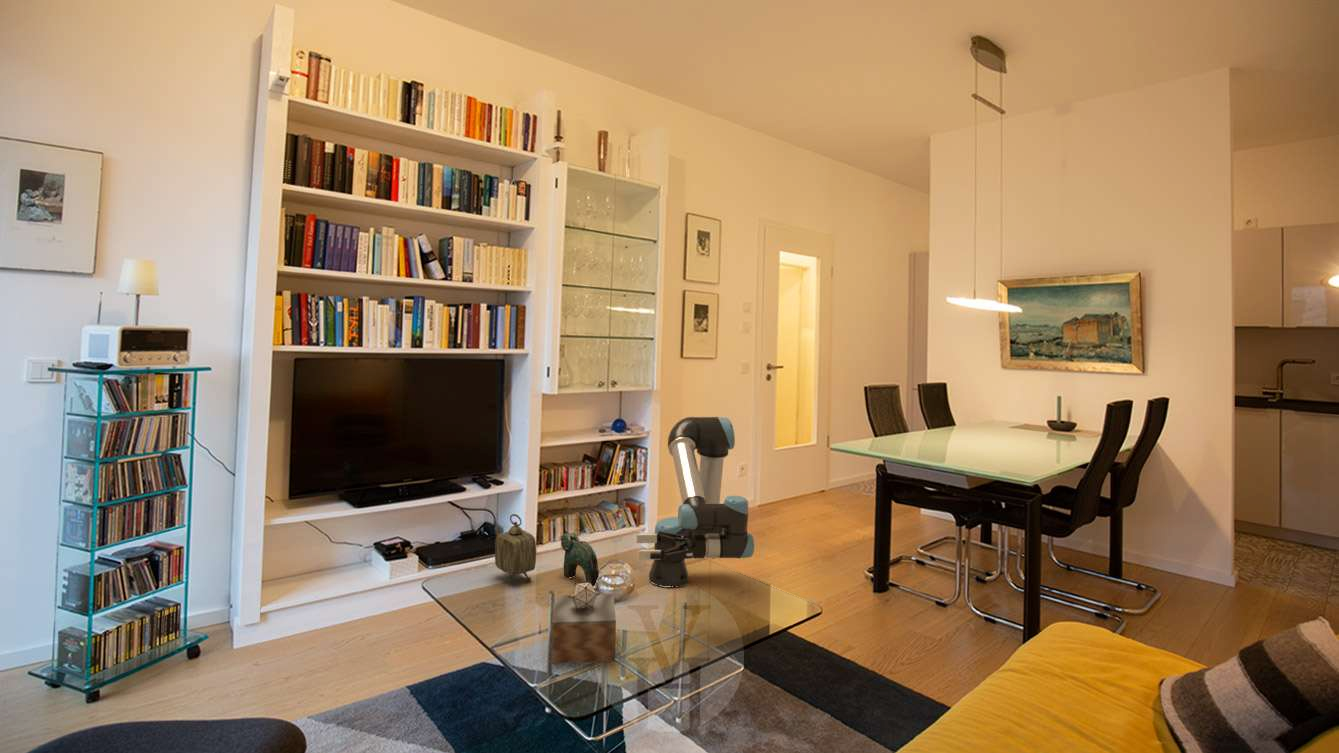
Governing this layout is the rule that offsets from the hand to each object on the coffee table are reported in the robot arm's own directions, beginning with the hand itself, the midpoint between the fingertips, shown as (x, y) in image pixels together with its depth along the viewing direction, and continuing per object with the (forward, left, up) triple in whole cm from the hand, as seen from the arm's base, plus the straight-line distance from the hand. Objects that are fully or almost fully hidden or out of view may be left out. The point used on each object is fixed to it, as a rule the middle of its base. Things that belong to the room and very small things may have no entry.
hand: (637, 546), depth 201 cm
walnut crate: (+16, +8, -28) cm, 33 cm away
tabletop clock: (+42, -44, -28) cm, 67 cm away
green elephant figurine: (+18, -40, -28) cm, 52 cm away
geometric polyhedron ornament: (+17, +9, -16) cm, 24 cm away
